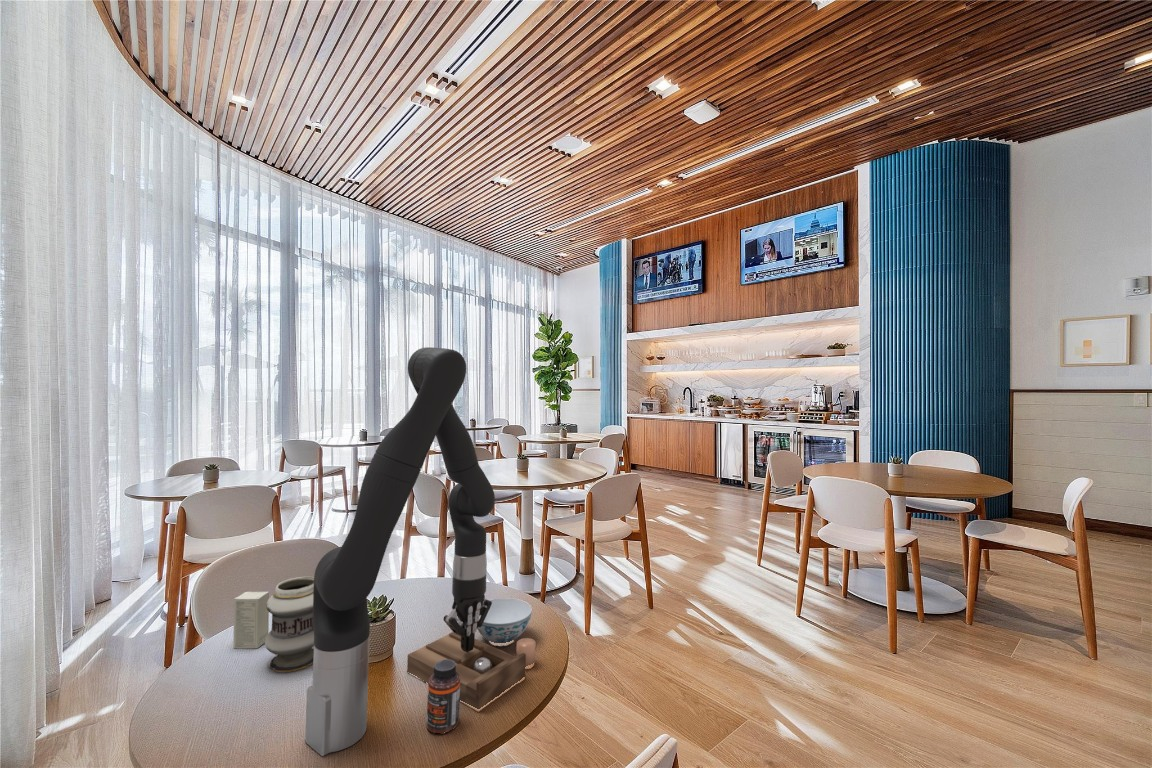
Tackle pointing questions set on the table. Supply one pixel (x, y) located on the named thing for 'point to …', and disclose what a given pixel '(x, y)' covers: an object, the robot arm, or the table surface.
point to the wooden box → (470, 668)
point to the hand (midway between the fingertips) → (467, 649)
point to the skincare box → (250, 619)
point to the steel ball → (482, 665)
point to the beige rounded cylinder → (526, 649)
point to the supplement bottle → (443, 697)
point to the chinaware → (505, 620)
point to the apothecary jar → (291, 625)
